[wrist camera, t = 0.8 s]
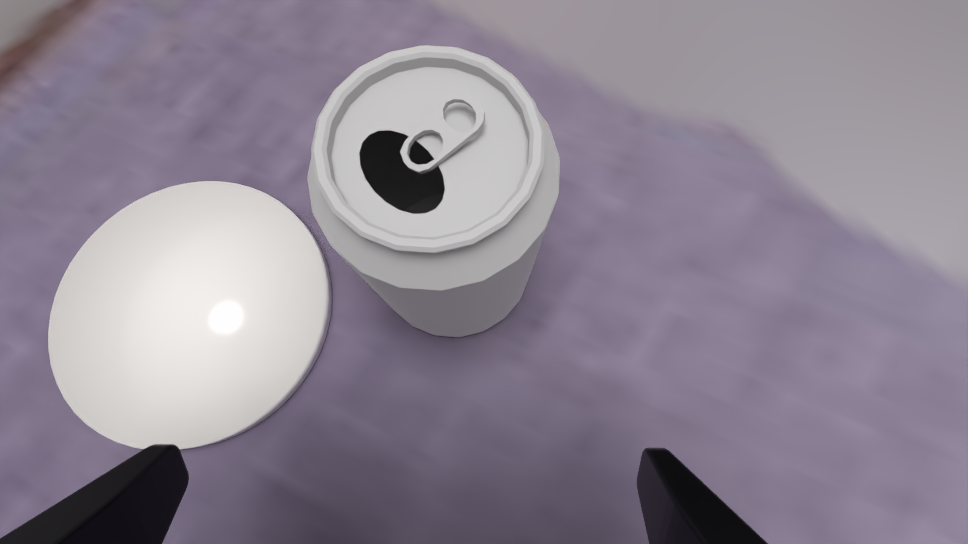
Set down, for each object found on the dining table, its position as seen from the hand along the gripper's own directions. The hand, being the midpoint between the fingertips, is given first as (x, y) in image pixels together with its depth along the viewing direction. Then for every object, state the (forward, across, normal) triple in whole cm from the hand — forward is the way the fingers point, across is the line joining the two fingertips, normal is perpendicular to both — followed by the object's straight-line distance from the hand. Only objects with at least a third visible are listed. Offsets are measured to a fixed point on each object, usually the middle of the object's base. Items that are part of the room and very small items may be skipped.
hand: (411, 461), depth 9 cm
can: (+15, 0, +3) cm, 15 cm away
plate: (+13, +13, +4) cm, 19 cm away
